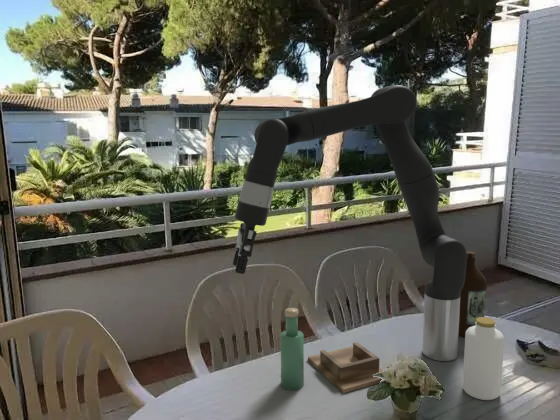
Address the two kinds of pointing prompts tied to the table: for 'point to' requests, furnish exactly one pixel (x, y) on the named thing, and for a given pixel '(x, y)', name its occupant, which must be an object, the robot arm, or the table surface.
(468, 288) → the olive oil
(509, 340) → the table surface
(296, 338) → the bottle
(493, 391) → the potion bottle
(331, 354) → the bottle rest
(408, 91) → the robot arm
